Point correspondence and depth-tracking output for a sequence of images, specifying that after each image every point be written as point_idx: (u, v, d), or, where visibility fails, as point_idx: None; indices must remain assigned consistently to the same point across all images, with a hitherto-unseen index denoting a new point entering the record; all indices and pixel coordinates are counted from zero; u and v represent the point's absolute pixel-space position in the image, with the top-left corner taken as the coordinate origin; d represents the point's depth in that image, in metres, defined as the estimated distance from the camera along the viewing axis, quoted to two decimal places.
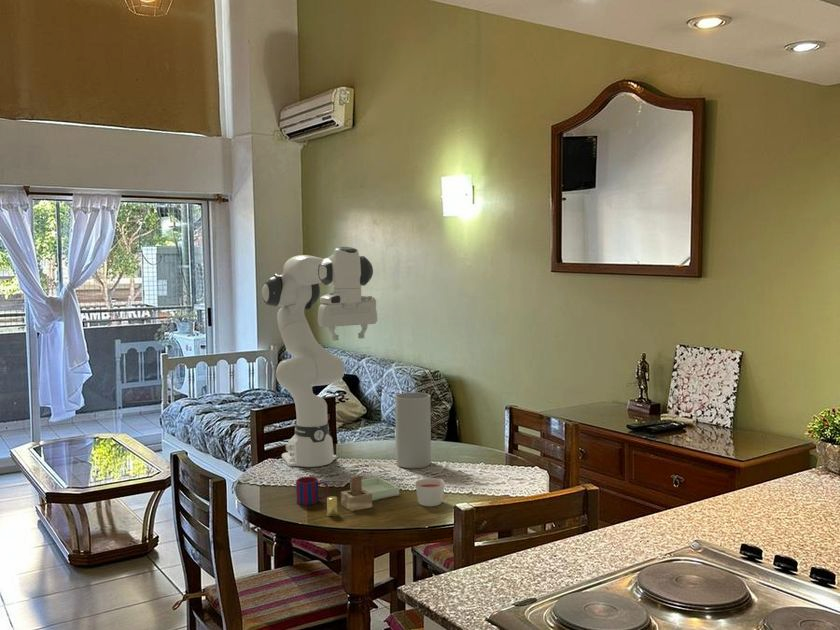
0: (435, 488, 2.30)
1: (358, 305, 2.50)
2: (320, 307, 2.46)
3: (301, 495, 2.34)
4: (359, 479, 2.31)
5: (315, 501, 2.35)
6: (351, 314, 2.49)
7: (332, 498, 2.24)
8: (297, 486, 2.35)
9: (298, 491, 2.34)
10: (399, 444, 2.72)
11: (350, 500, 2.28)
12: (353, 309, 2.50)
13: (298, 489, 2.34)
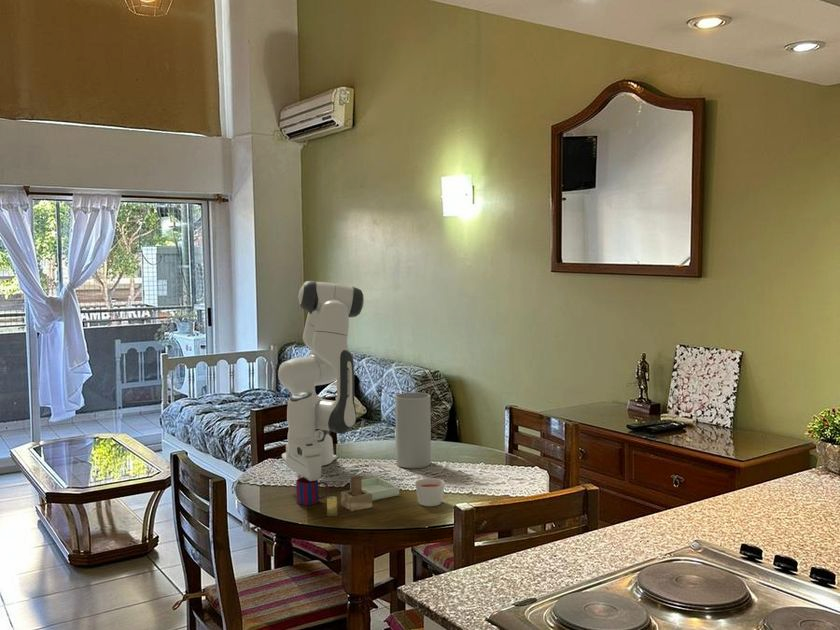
0: (435, 488, 2.30)
1: None
2: (312, 461, 2.33)
3: (301, 495, 2.34)
4: (359, 479, 2.31)
5: (315, 501, 2.35)
6: None
7: (332, 498, 2.24)
8: (297, 486, 2.35)
9: (298, 491, 2.34)
10: (399, 444, 2.72)
11: (350, 500, 2.28)
12: None
13: (298, 489, 2.34)
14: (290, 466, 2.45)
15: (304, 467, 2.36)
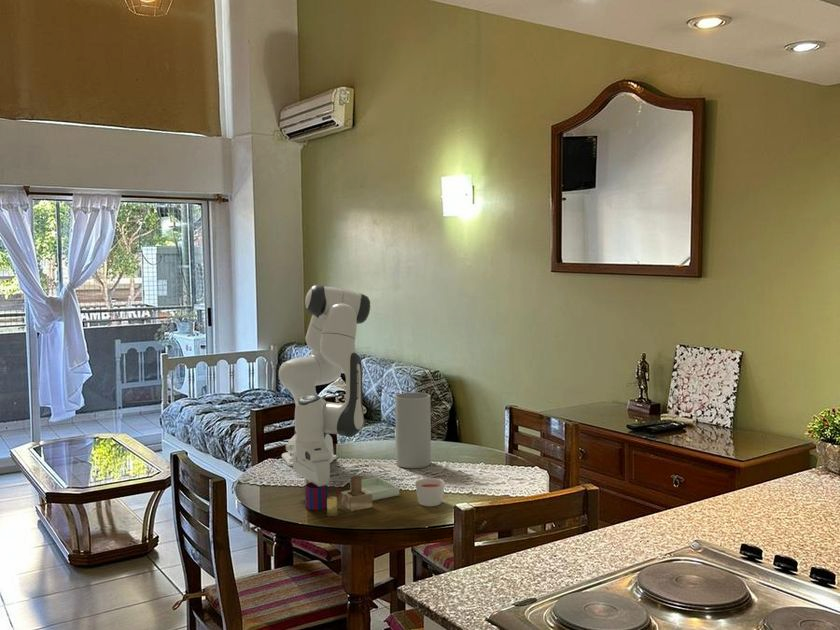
0: (435, 488, 2.30)
1: None
2: (321, 466, 2.28)
3: (311, 500, 2.29)
4: (359, 479, 2.31)
5: (325, 506, 2.30)
6: None
7: (332, 498, 2.24)
8: (306, 491, 2.29)
9: (308, 496, 2.29)
10: (399, 444, 2.72)
11: (350, 500, 2.28)
12: None
13: (308, 494, 2.29)
14: (297, 471, 2.40)
15: (312, 472, 2.31)
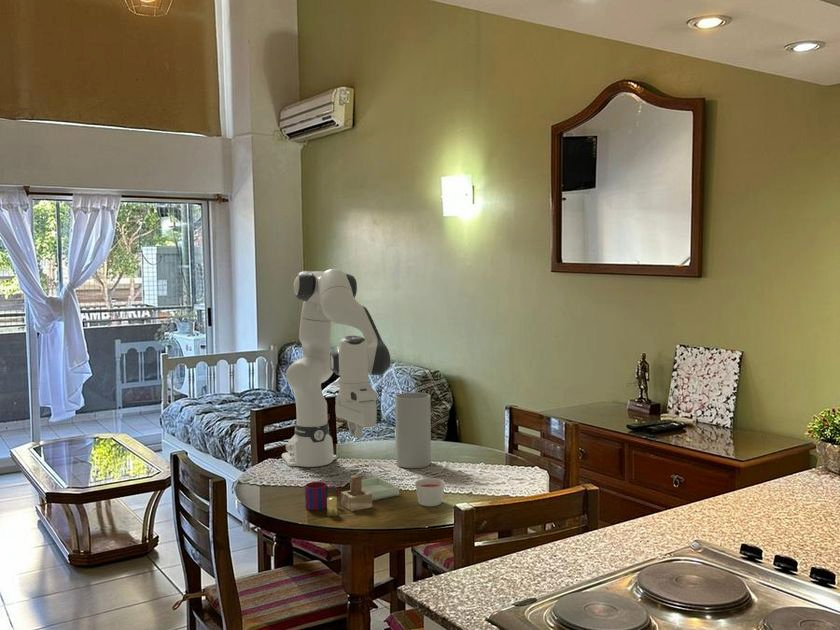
0: (435, 488, 2.30)
1: None
2: (368, 406, 2.22)
3: (311, 500, 2.29)
4: (359, 479, 2.31)
5: (325, 506, 2.30)
6: None
7: (332, 498, 2.24)
8: (306, 491, 2.29)
9: (308, 496, 2.29)
10: (399, 444, 2.72)
11: (350, 500, 2.28)
12: None
13: (308, 494, 2.29)
14: (341, 415, 2.34)
15: (358, 413, 2.24)
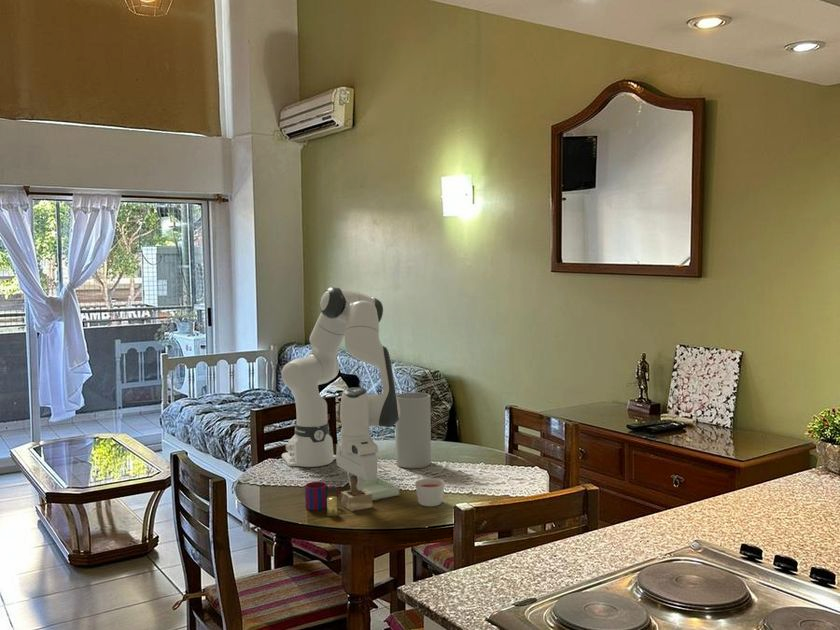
0: (435, 488, 2.30)
1: None
2: (368, 460, 2.23)
3: (311, 500, 2.29)
4: None
5: (325, 506, 2.30)
6: None
7: (332, 498, 2.24)
8: (306, 491, 2.29)
9: (308, 496, 2.29)
10: (399, 444, 2.72)
11: (350, 500, 2.28)
12: None
13: (308, 494, 2.29)
14: (342, 465, 2.35)
15: (359, 466, 2.25)
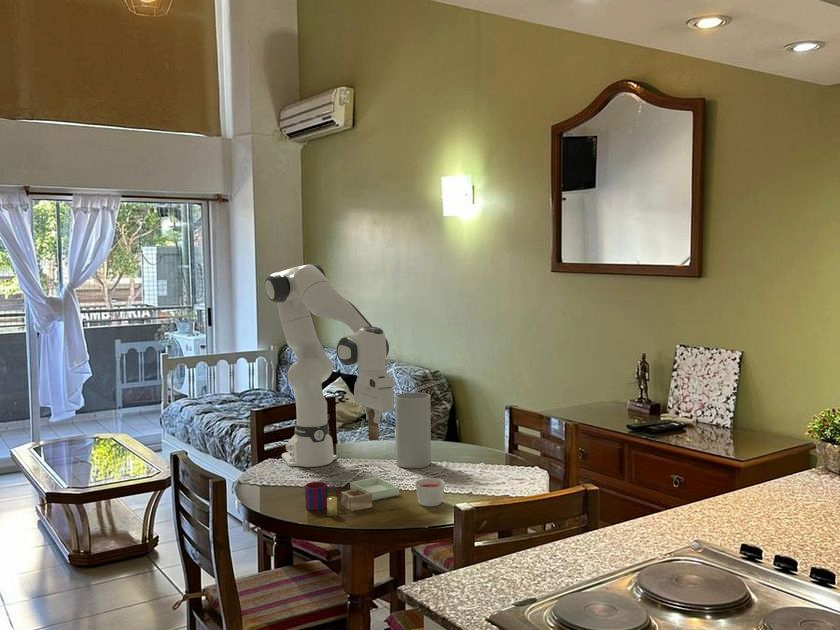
0: (435, 488, 2.30)
1: None
2: (386, 392, 2.34)
3: (311, 500, 2.29)
4: None
5: (325, 506, 2.30)
6: None
7: (332, 498, 2.24)
8: (306, 491, 2.29)
9: (308, 496, 2.29)
10: (399, 444, 2.72)
11: (350, 500, 2.28)
12: None
13: (308, 494, 2.29)
14: (359, 401, 2.47)
15: (376, 399, 2.37)
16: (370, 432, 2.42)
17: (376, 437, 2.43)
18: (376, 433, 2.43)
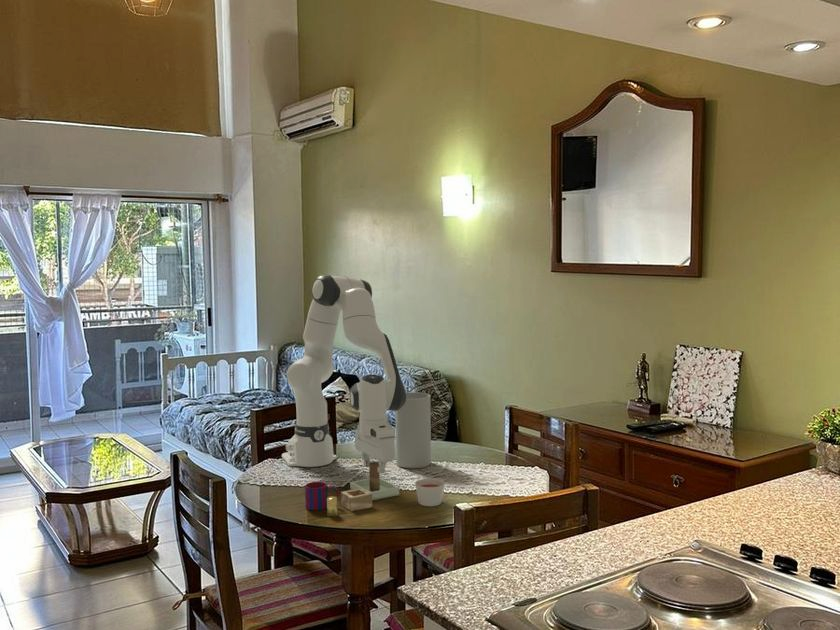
0: (435, 488, 2.30)
1: None
2: (386, 442, 2.36)
3: (311, 500, 2.29)
4: (377, 465, 2.43)
5: (325, 506, 2.30)
6: None
7: (332, 498, 2.24)
8: (306, 491, 2.29)
9: (308, 496, 2.29)
10: (399, 444, 2.72)
11: (350, 500, 2.28)
12: None
13: (308, 494, 2.29)
14: (360, 448, 2.48)
15: (377, 449, 2.38)
16: (371, 484, 2.44)
17: (377, 489, 2.44)
18: (377, 485, 2.44)
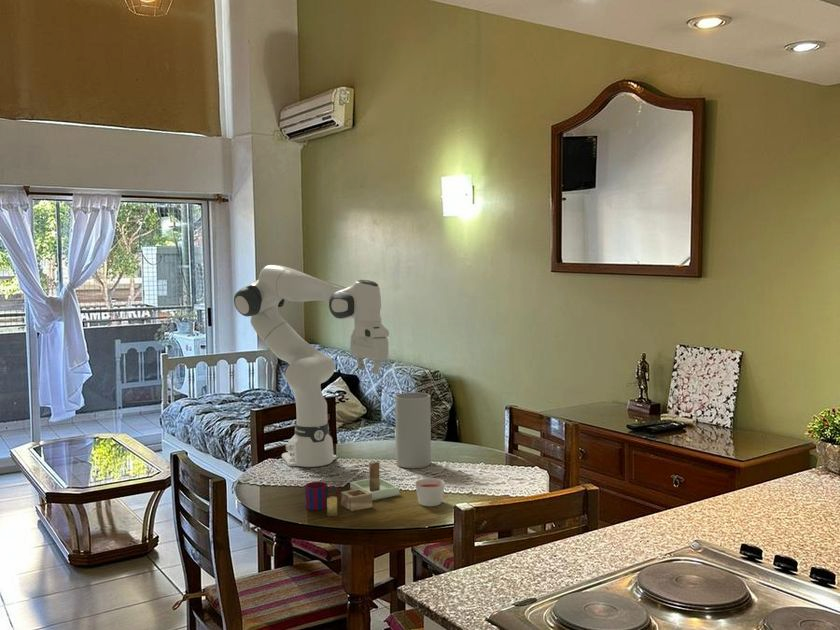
0: (435, 488, 2.30)
1: None
2: (380, 342, 2.44)
3: (311, 500, 2.29)
4: (377, 465, 2.43)
5: (325, 506, 2.30)
6: None
7: (332, 498, 2.24)
8: (306, 491, 2.29)
9: (308, 496, 2.29)
10: (399, 444, 2.72)
11: (350, 500, 2.28)
12: None
13: (308, 494, 2.29)
14: (355, 352, 2.57)
15: (371, 349, 2.47)
16: (371, 484, 2.44)
17: (377, 489, 2.44)
18: (377, 485, 2.44)
